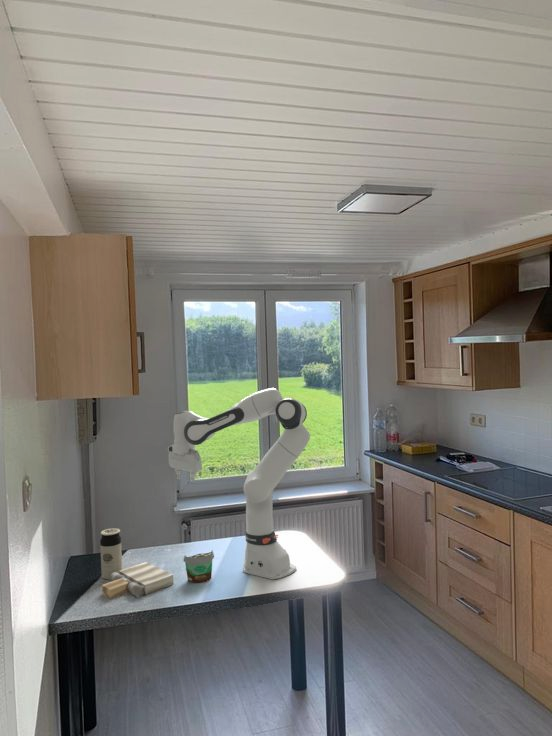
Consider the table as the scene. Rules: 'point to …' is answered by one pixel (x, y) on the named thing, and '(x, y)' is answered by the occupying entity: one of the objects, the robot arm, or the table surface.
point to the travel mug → (110, 552)
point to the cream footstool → (144, 578)
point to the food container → (199, 567)
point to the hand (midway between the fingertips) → (185, 480)
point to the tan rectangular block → (115, 588)
